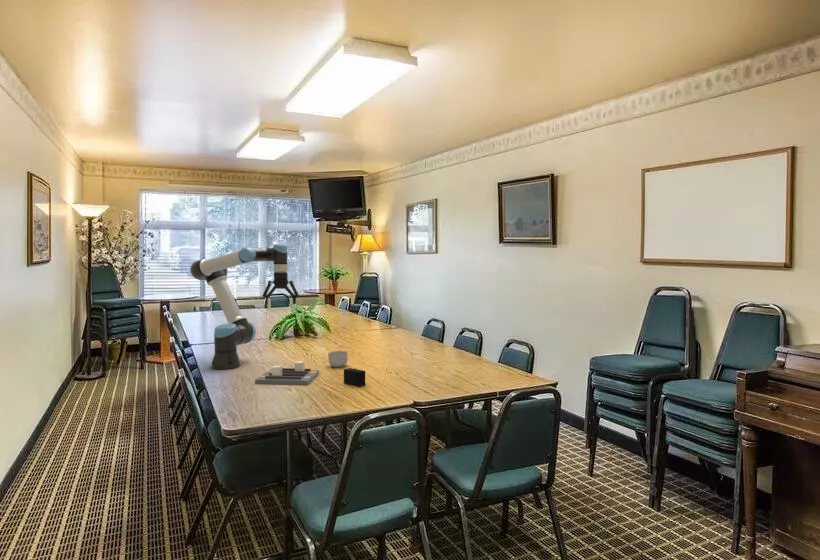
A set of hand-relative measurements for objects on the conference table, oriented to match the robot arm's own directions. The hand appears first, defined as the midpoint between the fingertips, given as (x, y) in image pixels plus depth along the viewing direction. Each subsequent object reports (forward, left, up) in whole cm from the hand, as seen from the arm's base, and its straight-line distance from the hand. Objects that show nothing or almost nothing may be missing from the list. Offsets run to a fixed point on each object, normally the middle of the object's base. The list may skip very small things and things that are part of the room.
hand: (280, 309), depth 284 cm
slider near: (+9, -34, -29) cm, 46 cm away
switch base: (+13, -29, -32) cm, 45 cm away
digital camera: (+49, -36, -32) cm, 68 cm away
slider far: (+17, -23, -29) cm, 41 cm away
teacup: (+32, +3, -32) cm, 45 cm away
